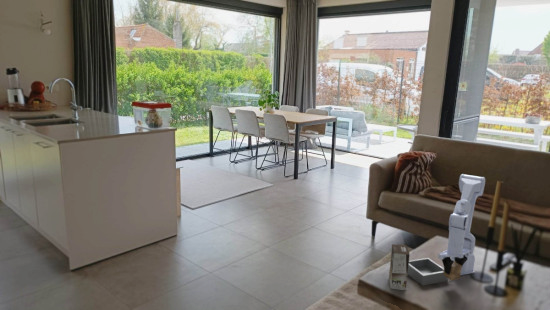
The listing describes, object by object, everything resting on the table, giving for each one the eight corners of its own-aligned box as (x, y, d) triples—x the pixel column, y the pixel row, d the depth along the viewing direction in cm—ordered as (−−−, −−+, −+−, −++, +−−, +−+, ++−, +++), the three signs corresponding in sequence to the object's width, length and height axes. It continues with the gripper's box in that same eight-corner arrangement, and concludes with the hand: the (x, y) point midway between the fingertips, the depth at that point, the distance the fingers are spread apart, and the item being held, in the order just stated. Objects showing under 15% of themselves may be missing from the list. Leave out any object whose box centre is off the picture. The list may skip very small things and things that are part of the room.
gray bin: (427, 266, 183) (428, 257, 182) (447, 280, 171) (448, 271, 170) (403, 270, 179) (404, 261, 178) (422, 285, 167) (423, 275, 166)
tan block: (452, 273, 168) (453, 260, 166) (459, 278, 163) (461, 265, 162) (443, 274, 166) (444, 261, 165) (451, 280, 162) (452, 267, 161)
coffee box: (406, 290, 163) (410, 254, 159) (390, 288, 164) (393, 253, 160) (403, 279, 171) (407, 245, 168) (388, 277, 172) (391, 243, 169)
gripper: (448, 248, 155) (444, 279, 158) (477, 244, 160) (473, 274, 163) (436, 241, 162) (432, 271, 165) (464, 236, 166) (460, 266, 169)
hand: (452, 272), depth 164 cm, fingers closed on tan block, 4 cm apart
